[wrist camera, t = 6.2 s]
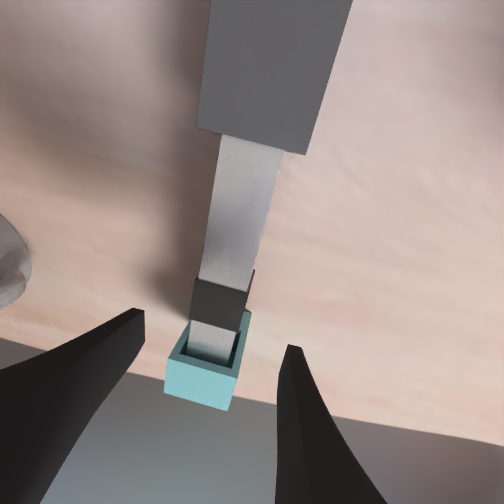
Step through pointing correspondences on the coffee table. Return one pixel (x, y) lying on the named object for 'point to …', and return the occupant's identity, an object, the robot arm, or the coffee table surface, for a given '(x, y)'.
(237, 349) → the teal socket
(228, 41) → the graphite sleeve
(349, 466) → the robot arm
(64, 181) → the coffee table surface
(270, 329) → the coffee table surface
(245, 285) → the metal square rod
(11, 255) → the coffee mug
